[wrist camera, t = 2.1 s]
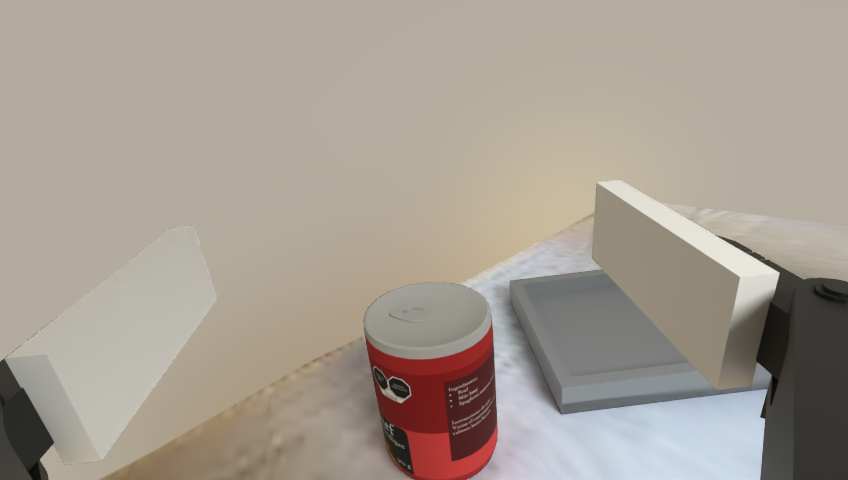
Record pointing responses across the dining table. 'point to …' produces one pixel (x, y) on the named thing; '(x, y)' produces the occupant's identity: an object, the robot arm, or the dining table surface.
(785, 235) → the dining table surface
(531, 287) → the tray
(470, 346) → the canned food
